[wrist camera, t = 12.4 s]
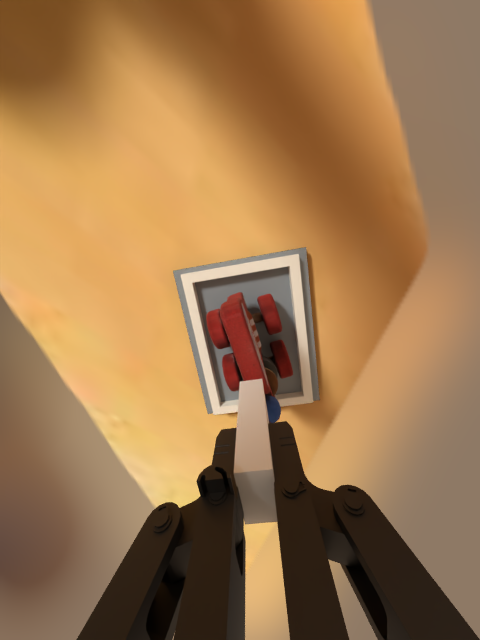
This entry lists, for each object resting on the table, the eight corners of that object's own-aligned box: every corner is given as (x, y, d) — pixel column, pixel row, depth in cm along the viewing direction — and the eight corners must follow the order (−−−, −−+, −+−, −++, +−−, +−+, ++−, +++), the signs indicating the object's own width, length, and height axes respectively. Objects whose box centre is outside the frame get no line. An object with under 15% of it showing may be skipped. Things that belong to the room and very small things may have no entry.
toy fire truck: (238, 391, 27) (232, 469, 17) (204, 295, 24) (174, 322, 14) (293, 378, 27) (321, 450, 17) (266, 277, 24) (281, 291, 14)
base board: (176, 270, 25) (169, 271, 23) (303, 247, 24) (308, 246, 22) (209, 407, 30) (206, 419, 27) (316, 394, 28) (322, 405, 26)
